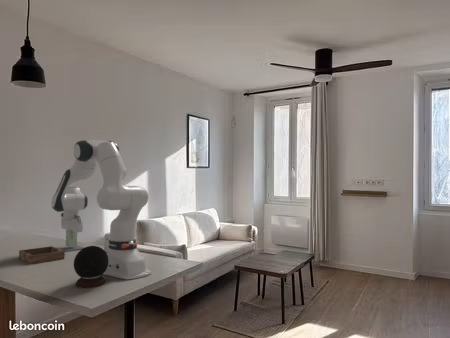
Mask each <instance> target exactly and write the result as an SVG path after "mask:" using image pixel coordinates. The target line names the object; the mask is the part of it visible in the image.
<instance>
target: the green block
mask: <svg viewBox="0 0 450 338" xmlns="http://www.w3.org/2000/svg"><path fill="white" fill-rule="evenodd" d="M72 236H73V231H70V230H65V246H76V245H78V244H77V243H78V234H77V235H76V239H72Z"/></svg>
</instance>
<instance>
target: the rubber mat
mask: <svg viewBox="0 0 450 338" xmlns="http://www.w3.org/2000/svg"><path fill="white" fill-rule="evenodd" d="M56 248H58V249H61V250H63V251H65V253H67V252H68V253H69V252H75V251H80V250H82V249H83V248H85V246H82V245H78V244H77V245H76V246H66V245H65V246H59V247H56Z"/></svg>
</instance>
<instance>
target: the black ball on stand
mask: <svg viewBox="0 0 450 338" xmlns="http://www.w3.org/2000/svg"><path fill="white" fill-rule="evenodd" d="M84 247H85V246H84ZM107 253H108V252H105V251H104V249H103V248H102V247H100V246H98V245H97V246H96V245H88V246H86V247H85V248H83V249H82V250H78V252H77V253H76V254H75V257H74V260H73V269H74V272H75V273H76V274H77V276H78V277H79V278H78V279H77V280H76V282H75V286H76V287H78V288H80V289H91V288H97V287H102V286H104V285H105V284H106V279H105V277H103V276H102V275H104V274H103V273H104V272H105V271H106V269H107V267H108V262H109V261H108V255H107Z"/></svg>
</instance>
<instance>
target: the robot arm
mask: <svg viewBox="0 0 450 338" xmlns="http://www.w3.org/2000/svg"><path fill="white" fill-rule="evenodd" d="M73 154H74V157H75V159H74V163H73V165H71V167H70V168H69V169H66V171H65V172H64V173H63V175H62V178H61V180H60V182H59V184H58V187H57V188H56V191H55V194H54V195H53V196H52V199H51V204H50V205H51V208H52V209H53V210H54V211H55V212H57V213H60V212H61V213H60V217H61V219H60V222H61V223H60V224H61V229H62V230H64V231H66V230H70V231H73V236H72V239H76V235H77V236H78V233H83V229H84V228H83V227H84V226H83V219H82V218H81V211H83V210H85V209H86V208H87V207H88V203H89V201H88V196H87V195H86V194H85V193H82V191H81V188H80V187H77V186H72V187H71V185H72V184H74V183H77V182H79V181H83V180H88V179H89V178H91V177H92V176H93V175H94V174H95V173H96V168H97V164H98V166H99V169H100V172H101V175H102V178H103V179H102V180H103V184H102V187H101V188H100V189H99V190H98V193H97V195H96V202H97V205H98V207H99V208H100V209H102V210H107V211H119V213H118V214H117V216H116V217H115V218H114V219H113V220H112V221H111V222H110V228H109V232H110V240H109V251H108V252H106V253H107V255H108V261H109V262H108V267H107V269H106V271H105V272H104V273H103V274H102V275H104V276H105V275H106V276H108V277H113V278H117V279H122V280H133V279H139V278H143V277H146V276H149V275H151V274H152V271H151V270H149V269H148V268H147V265H146V264H147V263H146V257H144V256H143V255H142V253H141V252H140V251H139V250H138V242H137V240H136V226H137V225H136V224H137V220H138V217H139V215H140V214H141V213H140V212H141V211H142V209H144V207H145V206H146V204H147V203H148V201H149V193H148V191H147V189H146V188H145V187H142V186H138V185H124V184H123V180H124V179H125V178H126V176H127V174H128V173H127V172H128V171H127V168H126V166H125V163H124V160H123V158H122V156H121V153H120V148H119V145H118V144H117V142H115V141H113V140H100V139H99V140H98V139H88V140H86V139H85V140H84V139H83V140H79V141H76V143H75V144H74V147H73Z"/></svg>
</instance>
